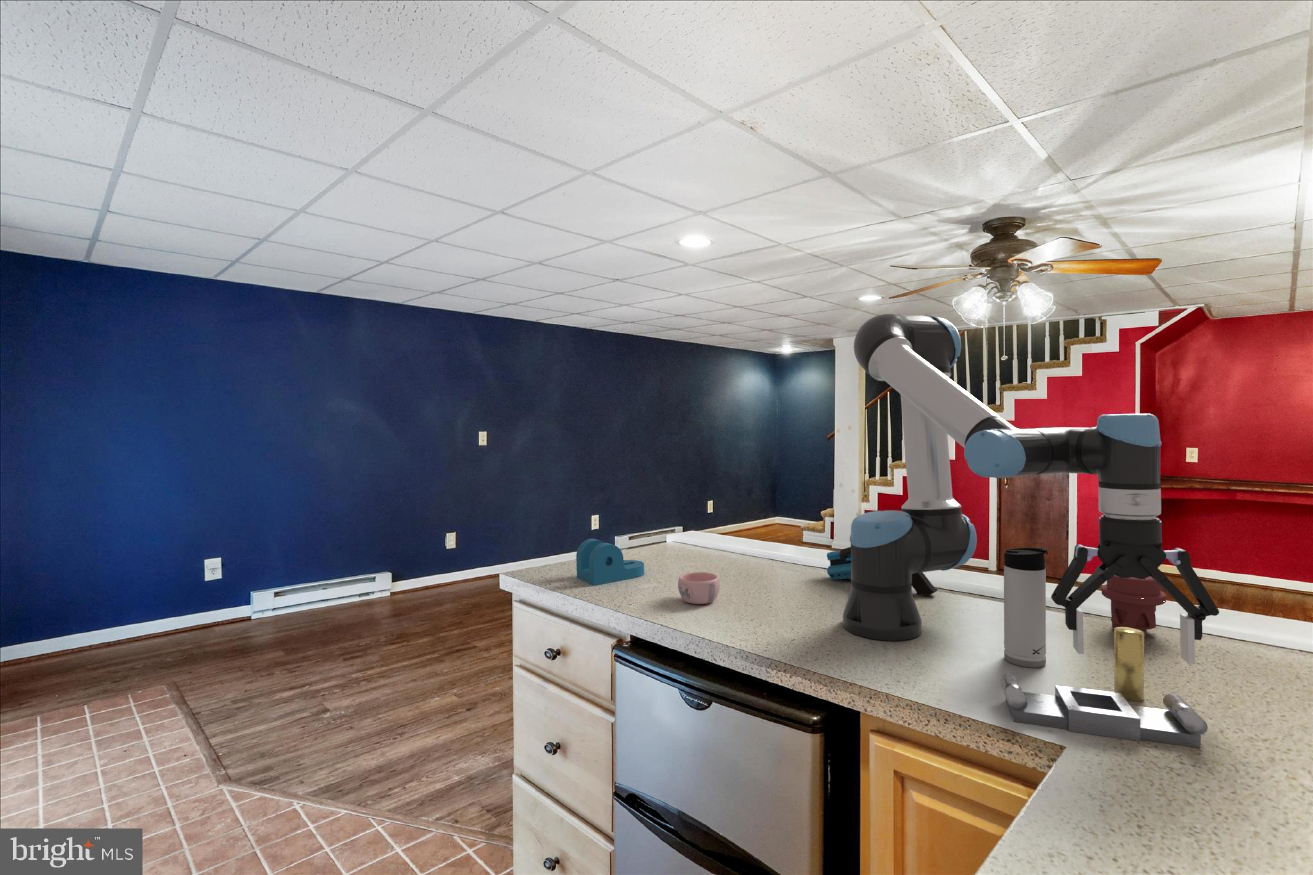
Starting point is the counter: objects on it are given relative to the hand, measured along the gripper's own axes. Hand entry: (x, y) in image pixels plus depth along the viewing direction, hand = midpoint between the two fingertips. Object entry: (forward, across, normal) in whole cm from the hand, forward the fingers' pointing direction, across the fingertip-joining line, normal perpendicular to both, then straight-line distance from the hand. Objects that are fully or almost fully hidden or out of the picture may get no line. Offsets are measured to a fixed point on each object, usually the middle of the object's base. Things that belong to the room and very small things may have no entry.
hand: (1131, 655), depth 93 cm
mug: (+5, -78, +27) cm, 83 cm away
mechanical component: (+6, +10, +33) cm, 35 cm away
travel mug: (+6, -12, +10) cm, 17 cm away
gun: (+6, -38, +53) cm, 65 cm away
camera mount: (+5, -107, +42) cm, 115 cm away
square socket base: (+6, -7, -11) cm, 14 cm away
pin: (+6, 0, 0) cm, 6 cm away
